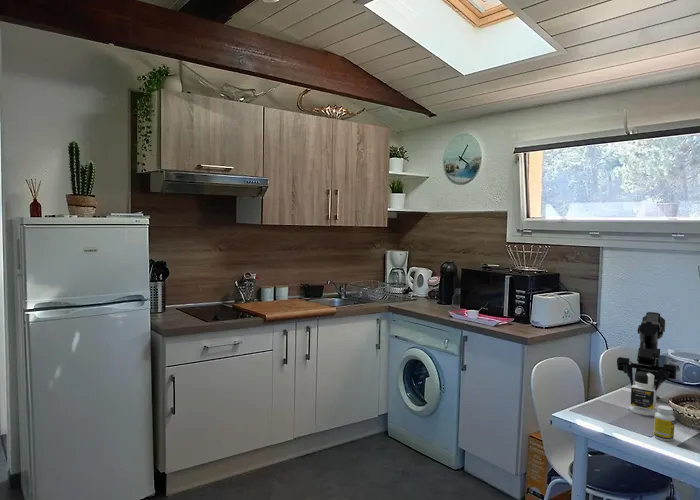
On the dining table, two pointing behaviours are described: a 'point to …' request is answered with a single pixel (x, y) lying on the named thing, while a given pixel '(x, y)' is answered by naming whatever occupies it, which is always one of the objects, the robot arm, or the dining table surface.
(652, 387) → the medicine bottle
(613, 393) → the dining table surface
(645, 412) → the white round dome
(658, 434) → the supplement bottle
